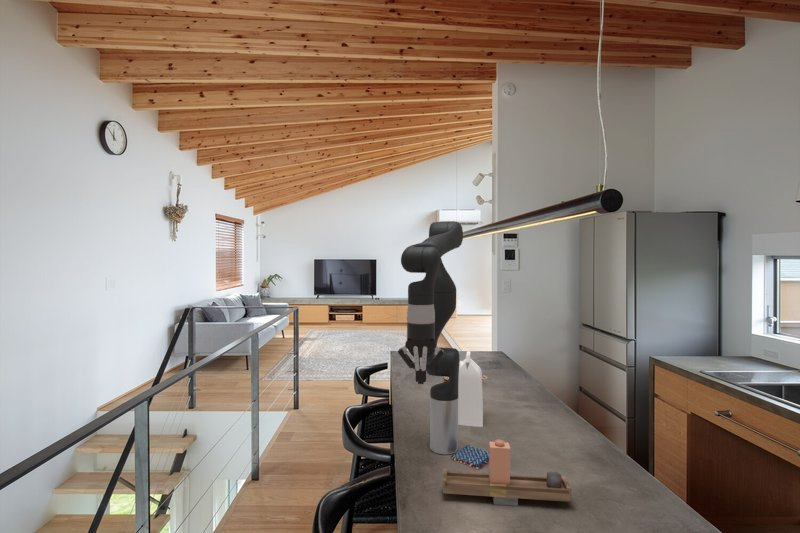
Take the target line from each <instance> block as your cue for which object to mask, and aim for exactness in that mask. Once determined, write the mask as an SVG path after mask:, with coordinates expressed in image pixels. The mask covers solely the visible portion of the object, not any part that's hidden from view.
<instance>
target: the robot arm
mask: <svg viewBox="0 0 800 533" xmlns="http://www.w3.org/2000/svg"><path fill="white" fill-rule="evenodd" d="M428 230H429V231H428V237H427V238H425V239H424V240H423V241H422V242H419V243H415V244H411V245H409V246H407V247H406V248H405V249H404V250H403V252H402V254H401V257H400V264H401V266H402V268H403V269H404V271H406V272H408V273H412V274H414V273H415V274H418V273H419V274H425V276H424V277H423V279H421V280H417V281H413V282H410V283H409V284H408V287H407V298H408V299H407V311H406V340H405V343H404V344H405V345H403V346H402V347H399V348H398V349H397V353H398V355H399V356H400V357H401V359H402V360H403V361H404V364H406V365H407V367H408V368H409V369H413V370H415V381H416V383H417V385H424V383H426V381H427V375H429V376H432V377H435V376H436V377H448V379H447V380H445V381H443V382H440V383H438V384H434V385H432V386H431V388H430V392H429V393H430V394H429V395H430V396H429V400H430V401H429V412H430V413H429V415H430V416H429V419H430V420H429V449H430V450H431V451H432V452H433V453H435V454H439V455H452V454H455V452H457V451H459V425H458V378H459V362H460V361H461V360H460V358H461V357H460V353H459V350H458V348H454V347H453V348H452V347H439V346H438V341H439V338H440V335H441V333H442V331H443V330H444V328H445V326H446V325H447V323H448V322H449V320H450V319H451V317H452V316H453V315H454V313H455V311H456V308H457V286H456V284H455V282H454V280H453V278H452V276H451V275H450V273H449V272H448V271H447V269H446V267H445V265H444V262H443V260H442V257H443V256H445V254H447V253H449V252H451V251H453V250H455V249H458V248H460V247H461V245H462V244H463V239H464V229H463V226H462V224H461V223H460V222H459V221H455V220H453V221H449V220H448V221H433V222H432V223H430V226H429V229H428ZM408 352H409V353H410V355H411V356H412V357H413V360H412V358H411V357H410V356H409V354H408Z"/></svg>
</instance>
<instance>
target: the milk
mask: <svg viewBox="0 0 800 533" xmlns="http://www.w3.org/2000/svg"><path fill="white" fill-rule="evenodd" d="M483 401H484V399H483V370H482V368H481V366H479V365H478V363H476V362H475V361H474V360H473V359H472V358H471V350H470V351H469V350H467V351H466V354H465V358H464V359H463V360H460V362H459V378H458V426H467V427H468V426H469V427H479V428H483V426H484V406H483V405H484V404H483Z"/></svg>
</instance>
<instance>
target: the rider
mask: <svg viewBox="0 0 800 533" xmlns="http://www.w3.org/2000/svg"><path fill="white" fill-rule="evenodd" d="M488 447H489V448H488V450H489V451H488V452H489V462H488V474H489V482H490V484H506V485H510V475H511V446H510V443H509V442H505V440H503V439H500V438H499V439H498V438H497V439H494V441H489V443H488Z"/></svg>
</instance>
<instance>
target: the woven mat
mask: <svg viewBox="0 0 800 533" xmlns="http://www.w3.org/2000/svg"><path fill="white" fill-rule="evenodd" d="M450 458H451V461H454V462H456V463H460V464H463V465H466V466H469V467H470V468H472V469H475V470H480V469H482V468H483V467H484V466H486V465H487V464H489V451H487V450H483V449H481V448H479V447H475V446H472V445H465V447H464V446H463V447H462V448H461V449H459V450H457V451H456V452H455V453H452V454H451V456H450Z"/></svg>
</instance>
